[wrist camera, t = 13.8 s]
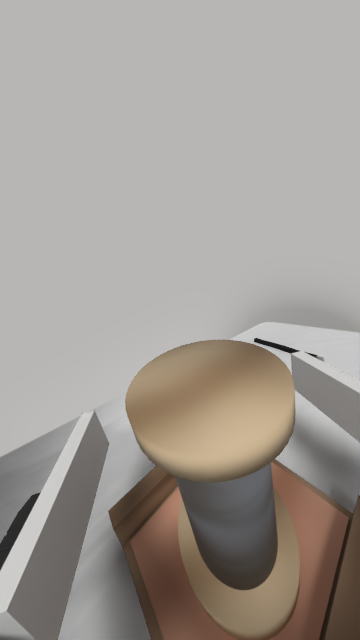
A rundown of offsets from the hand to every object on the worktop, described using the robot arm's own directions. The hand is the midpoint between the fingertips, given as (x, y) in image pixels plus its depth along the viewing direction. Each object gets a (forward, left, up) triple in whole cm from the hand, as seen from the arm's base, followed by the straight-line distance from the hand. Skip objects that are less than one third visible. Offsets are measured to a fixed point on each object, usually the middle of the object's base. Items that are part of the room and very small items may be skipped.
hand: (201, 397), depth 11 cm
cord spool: (+2, -1, -8) cm, 9 cm away
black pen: (-6, +25, -10) cm, 27 cm away
